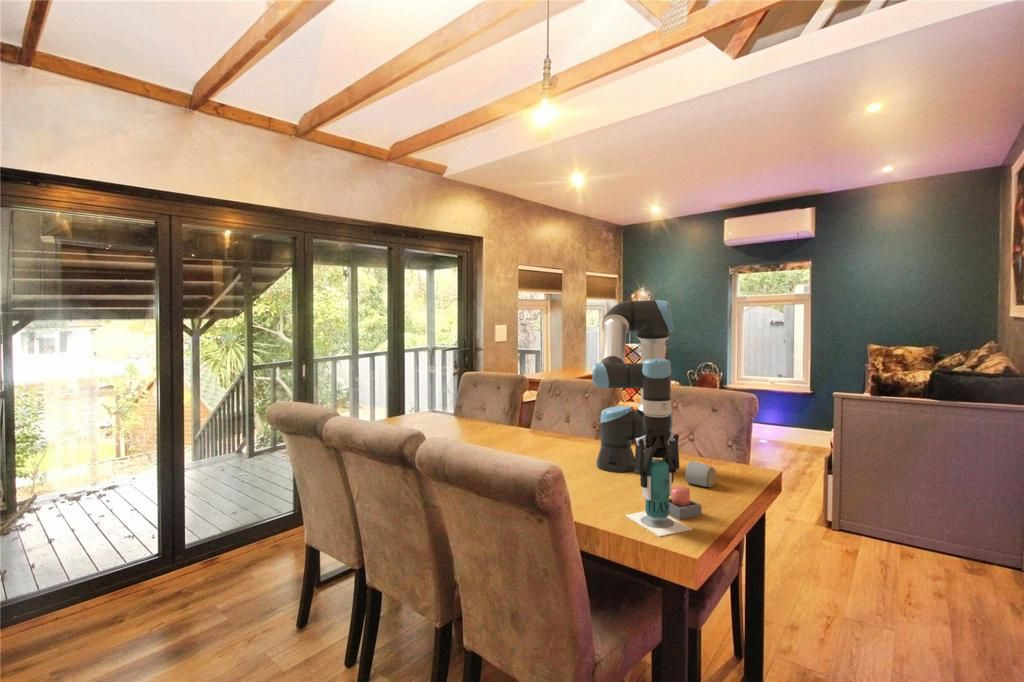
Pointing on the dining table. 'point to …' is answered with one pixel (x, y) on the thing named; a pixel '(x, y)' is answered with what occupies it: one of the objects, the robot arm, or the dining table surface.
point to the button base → (684, 510)
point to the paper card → (658, 524)
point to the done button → (680, 496)
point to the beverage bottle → (658, 487)
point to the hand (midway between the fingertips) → (657, 496)
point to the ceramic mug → (700, 474)
